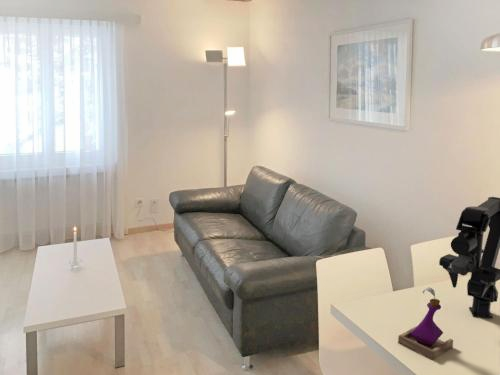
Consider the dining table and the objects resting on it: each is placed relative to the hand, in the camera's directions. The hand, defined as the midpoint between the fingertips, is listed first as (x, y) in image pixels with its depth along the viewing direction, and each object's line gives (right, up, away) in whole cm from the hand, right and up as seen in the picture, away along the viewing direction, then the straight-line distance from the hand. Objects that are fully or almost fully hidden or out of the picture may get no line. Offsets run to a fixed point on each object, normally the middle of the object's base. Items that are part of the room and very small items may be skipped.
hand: (467, 291), depth 159 cm
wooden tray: (-16, -15, -7) cm, 23 cm away
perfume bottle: (-16, -15, -7) cm, 23 cm away
